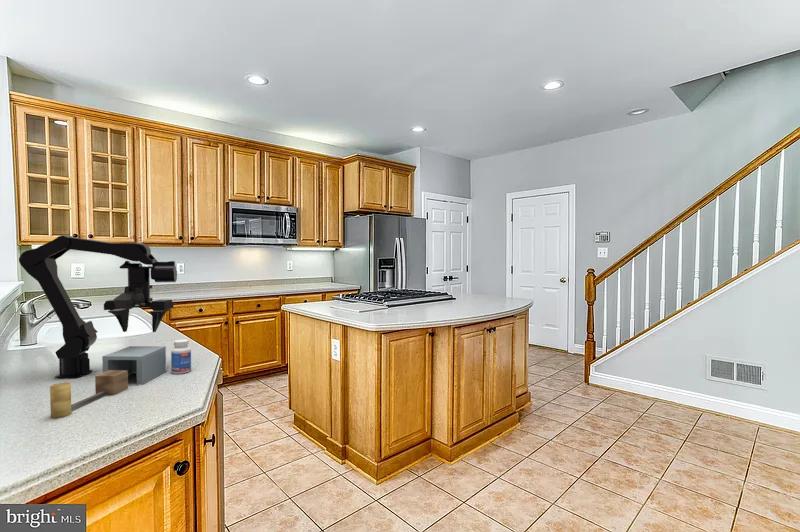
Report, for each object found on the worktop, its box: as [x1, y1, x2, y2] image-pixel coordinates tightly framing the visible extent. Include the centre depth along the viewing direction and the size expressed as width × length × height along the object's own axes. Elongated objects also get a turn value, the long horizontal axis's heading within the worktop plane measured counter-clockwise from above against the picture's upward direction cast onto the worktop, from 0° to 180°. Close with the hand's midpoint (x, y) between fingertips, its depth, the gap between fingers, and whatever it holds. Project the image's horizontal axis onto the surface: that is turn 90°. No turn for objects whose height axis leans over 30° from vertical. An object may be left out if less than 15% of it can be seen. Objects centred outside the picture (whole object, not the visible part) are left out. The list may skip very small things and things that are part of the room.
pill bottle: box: [170, 338, 192, 375], centre depth 123 cm, size 6×5×10 cm
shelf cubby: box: [101, 345, 167, 386], centre depth 116 cm, size 11×12×8 cm
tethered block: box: [49, 370, 129, 419], centre depth 98 cm, size 5×19×7 cm, turn 177°
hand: (139, 331), depth 124 cm, fingers open, 9 cm apart
